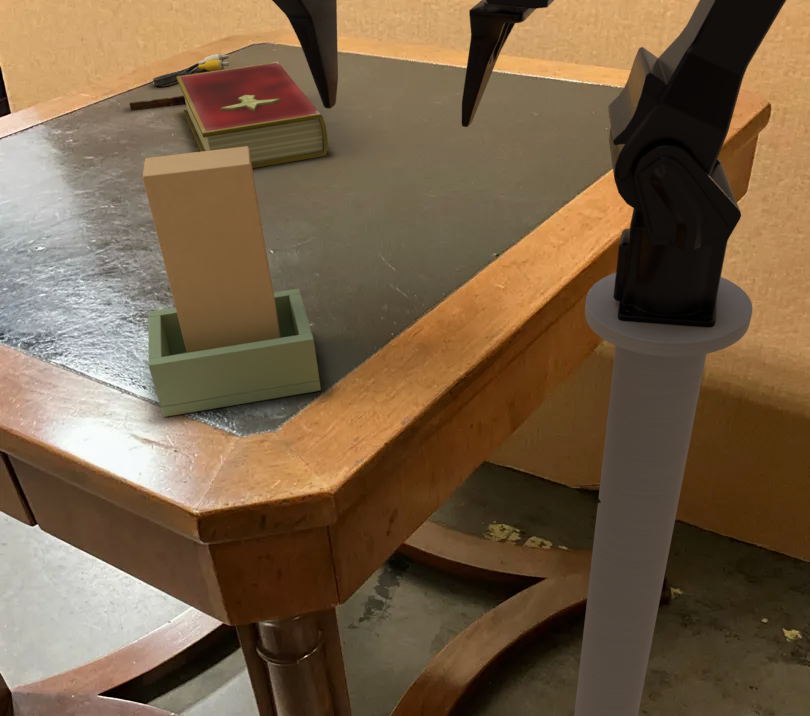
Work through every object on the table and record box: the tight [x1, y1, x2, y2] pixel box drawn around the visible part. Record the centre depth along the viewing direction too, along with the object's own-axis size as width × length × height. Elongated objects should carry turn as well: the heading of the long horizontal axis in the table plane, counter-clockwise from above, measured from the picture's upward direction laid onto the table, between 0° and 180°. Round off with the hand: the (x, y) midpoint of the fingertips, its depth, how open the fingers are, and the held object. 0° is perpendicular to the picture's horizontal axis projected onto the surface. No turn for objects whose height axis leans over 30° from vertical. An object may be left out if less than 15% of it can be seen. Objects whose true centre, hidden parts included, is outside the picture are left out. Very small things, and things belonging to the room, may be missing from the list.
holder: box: [147, 287, 322, 418], centre depth 58 cm, size 7×10×4 cm
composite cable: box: [152, 53, 230, 87], centre depth 113 cm, size 10×5×2 cm, turn 106°
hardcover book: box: [177, 61, 329, 169], centre depth 95 cm, size 12×21×4 cm, turn 18°
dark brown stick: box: [128, 95, 186, 111], centre depth 106 cm, size 15×1×1 cm, turn 101°
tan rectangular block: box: [142, 146, 281, 353], centre depth 55 cm, size 3×6×13 cm, turn 99°
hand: (397, 115), depth 57 cm, fingers open, 9 cm apart
